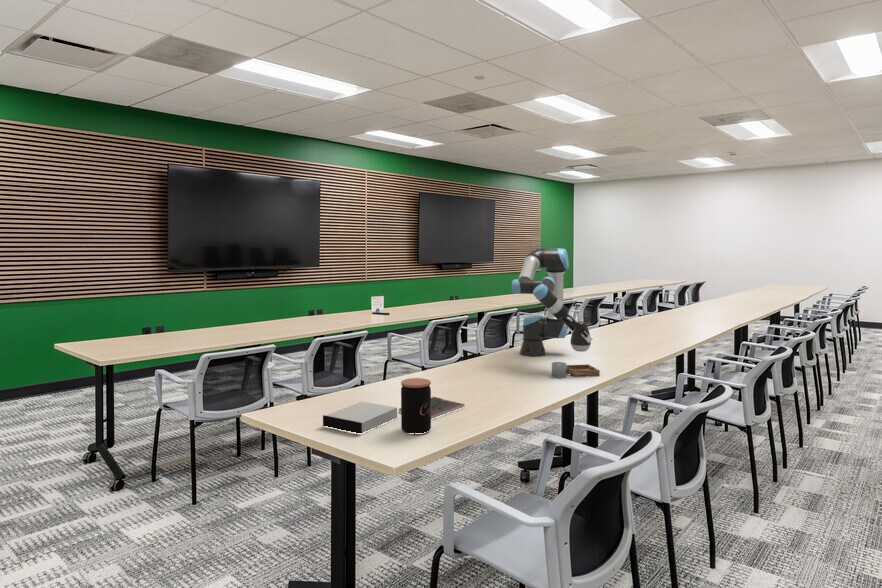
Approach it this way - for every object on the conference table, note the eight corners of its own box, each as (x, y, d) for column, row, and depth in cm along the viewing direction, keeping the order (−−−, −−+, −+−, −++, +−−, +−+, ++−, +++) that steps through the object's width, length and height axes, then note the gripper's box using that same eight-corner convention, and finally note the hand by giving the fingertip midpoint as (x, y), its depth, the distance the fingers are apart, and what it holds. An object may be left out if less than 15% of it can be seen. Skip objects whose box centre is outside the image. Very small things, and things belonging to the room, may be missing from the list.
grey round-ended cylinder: (549, 375, 283) (549, 362, 282) (562, 375, 284) (563, 361, 283) (554, 379, 276) (554, 365, 275) (568, 378, 277) (568, 364, 276)
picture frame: (434, 402, 238) (398, 414, 221) (434, 396, 238) (398, 408, 221) (464, 409, 227) (430, 422, 211) (464, 403, 227) (430, 416, 211)
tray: (563, 370, 294) (563, 365, 293) (588, 370, 295) (588, 364, 295) (572, 377, 280) (573, 371, 280) (599, 376, 282) (599, 370, 281)
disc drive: (322, 428, 204) (322, 415, 203) (361, 412, 223) (361, 400, 222) (360, 437, 195) (360, 423, 194) (397, 419, 214) (397, 407, 214)
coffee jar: (423, 437, 193) (423, 386, 191) (396, 433, 197) (395, 383, 195) (435, 427, 203) (435, 379, 201) (408, 424, 207) (408, 376, 205)
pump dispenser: (593, 352, 281) (594, 322, 280) (572, 352, 282) (573, 322, 280) (588, 348, 292) (589, 320, 290) (568, 348, 292) (569, 320, 290)
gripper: (545, 311, 294) (574, 340, 297) (559, 317, 272) (590, 348, 275) (555, 301, 294) (583, 330, 297) (570, 306, 272) (600, 337, 276)
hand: (586, 339), depth 286 cm, fingers closed on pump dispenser, 10 cm apart
